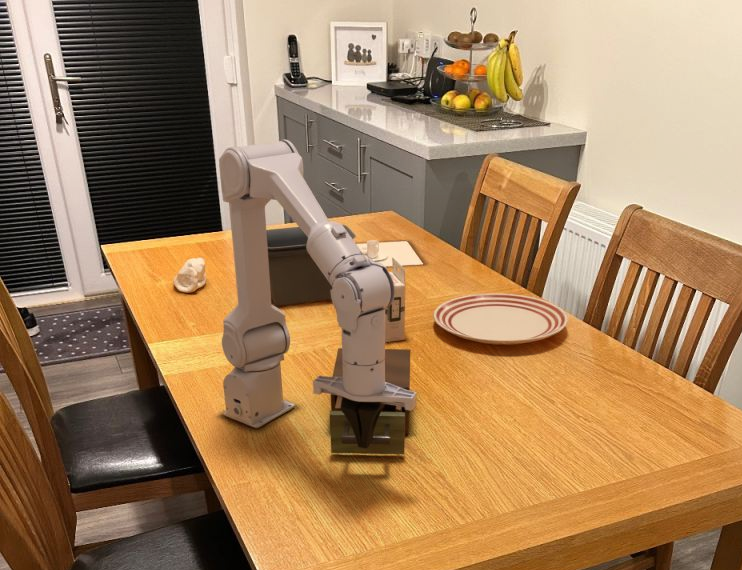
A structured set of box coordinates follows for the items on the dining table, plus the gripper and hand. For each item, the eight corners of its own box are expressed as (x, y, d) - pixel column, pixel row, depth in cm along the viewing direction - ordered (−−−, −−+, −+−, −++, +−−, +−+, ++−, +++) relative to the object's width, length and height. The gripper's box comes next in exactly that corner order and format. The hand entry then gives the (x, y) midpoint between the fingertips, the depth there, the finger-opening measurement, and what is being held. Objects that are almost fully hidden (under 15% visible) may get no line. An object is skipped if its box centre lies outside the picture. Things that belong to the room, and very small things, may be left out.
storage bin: (265, 312, 173) (260, 247, 165) (254, 289, 185) (248, 227, 178) (360, 302, 178) (359, 238, 170) (343, 280, 191) (341, 219, 183)
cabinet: (408, 433, 128) (409, 387, 124) (332, 432, 129) (330, 385, 124) (409, 393, 141) (410, 349, 136) (339, 391, 141) (338, 348, 137)
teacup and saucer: (354, 252, 208) (354, 237, 206) (384, 251, 210) (384, 235, 207) (359, 263, 201) (359, 247, 199) (390, 261, 202) (390, 245, 200)
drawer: (403, 471, 117) (404, 431, 114) (328, 469, 118) (326, 430, 114) (405, 412, 133) (406, 376, 129) (338, 411, 133) (337, 375, 130)
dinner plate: (405, 325, 167) (406, 310, 165) (495, 295, 182) (497, 281, 180) (502, 368, 149) (504, 352, 147) (593, 332, 164) (596, 316, 162)
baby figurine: (193, 275, 194) (210, 248, 190) (207, 308, 188) (225, 281, 183) (161, 266, 188) (177, 238, 183) (175, 300, 182) (192, 271, 177)
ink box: (369, 327, 166) (369, 258, 158) (392, 325, 167) (393, 255, 159) (381, 343, 159) (382, 271, 151) (405, 340, 160) (406, 269, 152)
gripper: (424, 353, 107) (422, 440, 114) (326, 338, 112) (329, 422, 119) (407, 374, 102) (405, 464, 109) (304, 357, 106) (309, 445, 113)
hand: (364, 444), depth 113 cm, fingers closed
